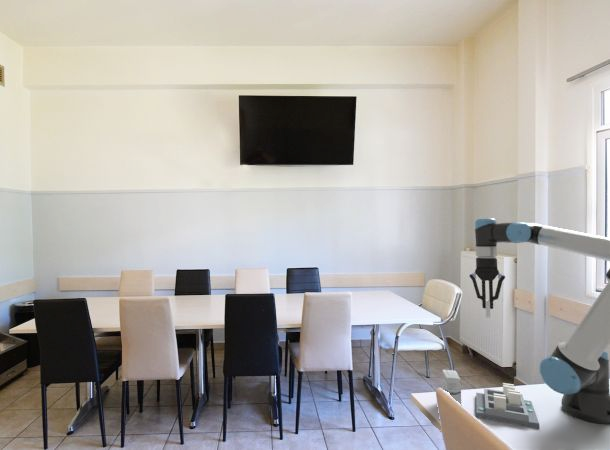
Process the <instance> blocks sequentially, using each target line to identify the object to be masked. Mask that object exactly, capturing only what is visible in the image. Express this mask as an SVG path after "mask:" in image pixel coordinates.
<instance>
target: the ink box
mask: <svg viewBox="0 0 610 450" xmlns="http://www.w3.org/2000/svg"><path fill="white" fill-rule="evenodd" d="M461 381H462V380H461V378H460V375H459V374H458V372H457V371H456V370H453V369H442V391H443V390H445V391H447V392H449V393H450V395H451V396H452V397H453V398H454V399H455V400H456V401H458V402H459V403H460V404H461V405H462V386H461V385H462V383H461Z"/></svg>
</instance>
